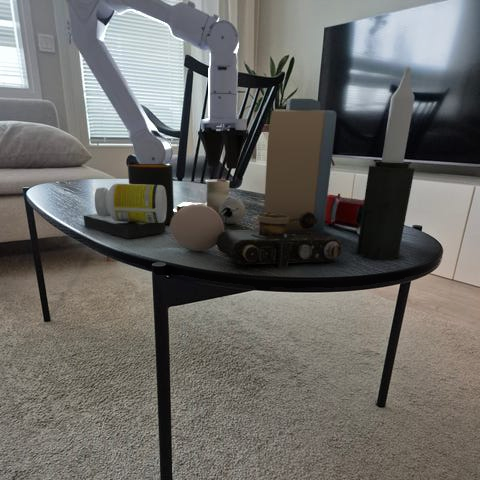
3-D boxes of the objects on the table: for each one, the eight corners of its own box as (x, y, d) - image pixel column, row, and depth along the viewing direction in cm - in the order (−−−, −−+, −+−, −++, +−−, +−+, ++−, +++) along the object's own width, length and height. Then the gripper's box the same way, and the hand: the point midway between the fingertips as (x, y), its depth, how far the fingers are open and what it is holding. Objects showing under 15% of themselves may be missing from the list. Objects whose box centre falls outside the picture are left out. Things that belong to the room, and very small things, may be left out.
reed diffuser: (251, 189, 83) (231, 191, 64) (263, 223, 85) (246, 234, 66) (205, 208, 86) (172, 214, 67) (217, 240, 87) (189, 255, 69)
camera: (321, 210, 64) (351, 218, 57) (316, 253, 66) (344, 266, 59) (217, 209, 58) (236, 218, 51) (216, 256, 61) (233, 271, 54)
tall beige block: (321, 250, 66) (338, 95, 58) (262, 245, 68) (270, 94, 59) (324, 225, 85) (337, 106, 76) (277, 222, 87) (285, 105, 78)
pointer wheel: (201, 205, 88) (201, 178, 86) (218, 203, 91) (218, 177, 89) (216, 208, 85) (216, 180, 83) (233, 206, 88) (234, 179, 86)
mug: (185, 215, 90) (183, 163, 85) (165, 226, 79) (163, 167, 75) (148, 213, 91) (145, 162, 87) (124, 223, 80) (119, 165, 76)
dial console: (175, 219, 86) (174, 206, 85) (185, 212, 94) (185, 200, 93) (235, 222, 85) (235, 209, 84) (240, 215, 93) (241, 203, 92)
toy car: (328, 192, 87) (312, 189, 84) (390, 200, 77) (375, 197, 74) (322, 223, 89) (306, 222, 86) (381, 235, 79) (366, 234, 76)
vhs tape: (166, 232, 74) (166, 220, 73) (128, 238, 69) (127, 226, 68) (122, 220, 83) (121, 210, 82) (84, 226, 78) (83, 215, 77)
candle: (353, 251, 66) (379, 68, 56) (381, 250, 68) (411, 71, 58) (372, 260, 62) (404, 62, 52) (401, 258, 63) (437, 66, 53)
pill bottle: (166, 180, 72) (101, 177, 71) (160, 191, 67) (90, 188, 66) (168, 215, 75) (105, 213, 75) (162, 228, 70) (96, 226, 70)
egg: (199, 256, 58) (159, 248, 65) (234, 252, 63) (193, 245, 70) (199, 205, 56) (157, 202, 63) (235, 205, 61) (193, 202, 68)
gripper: (260, 94, 80) (257, 169, 86) (220, 98, 91) (220, 164, 97) (229, 91, 77) (228, 170, 82) (192, 95, 88) (193, 164, 93)
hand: (222, 167), depth 89 cm, fingers open, 7 cm apart
